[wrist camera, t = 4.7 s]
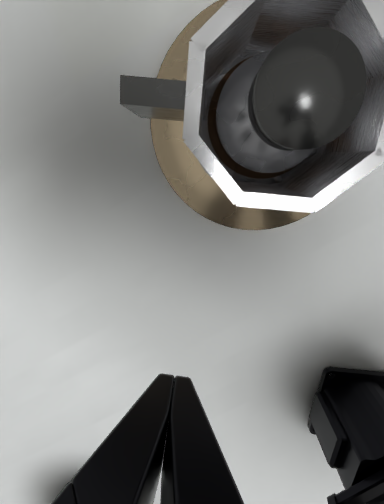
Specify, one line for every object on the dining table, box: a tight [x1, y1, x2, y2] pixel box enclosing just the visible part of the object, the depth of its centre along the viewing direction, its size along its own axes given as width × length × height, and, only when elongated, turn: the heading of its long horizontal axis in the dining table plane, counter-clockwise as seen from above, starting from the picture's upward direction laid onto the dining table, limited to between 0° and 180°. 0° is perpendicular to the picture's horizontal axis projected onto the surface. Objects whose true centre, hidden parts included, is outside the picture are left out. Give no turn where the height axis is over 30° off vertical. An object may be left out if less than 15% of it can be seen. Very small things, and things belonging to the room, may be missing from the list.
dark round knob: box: [216, 27, 367, 173], centre depth 12 cm, size 5×5×6 cm
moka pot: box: [120, 0, 384, 230], centre depth 14 cm, size 13×13×7 cm
